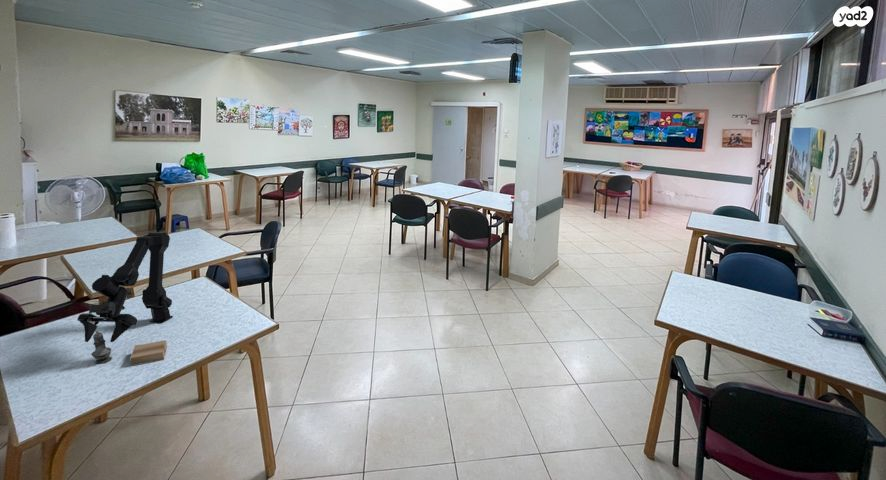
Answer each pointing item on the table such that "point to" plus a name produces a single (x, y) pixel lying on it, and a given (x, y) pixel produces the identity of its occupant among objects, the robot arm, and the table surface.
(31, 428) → the table surface
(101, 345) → the grey chess bishop
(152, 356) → the walnut pedestal
